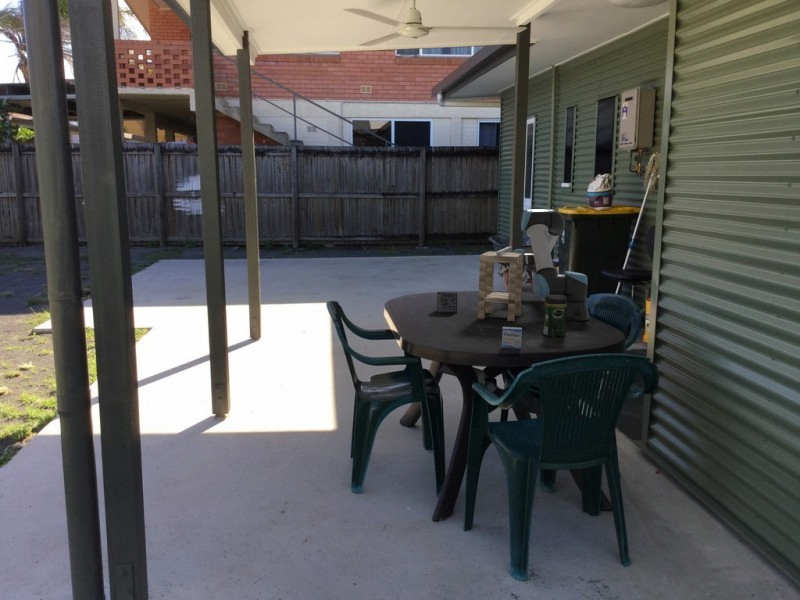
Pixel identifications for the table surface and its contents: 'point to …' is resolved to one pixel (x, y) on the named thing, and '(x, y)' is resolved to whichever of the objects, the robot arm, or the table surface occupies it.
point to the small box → (446, 302)
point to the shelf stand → (487, 284)
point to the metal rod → (504, 251)
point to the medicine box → (511, 337)
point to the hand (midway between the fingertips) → (513, 256)
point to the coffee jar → (555, 315)
